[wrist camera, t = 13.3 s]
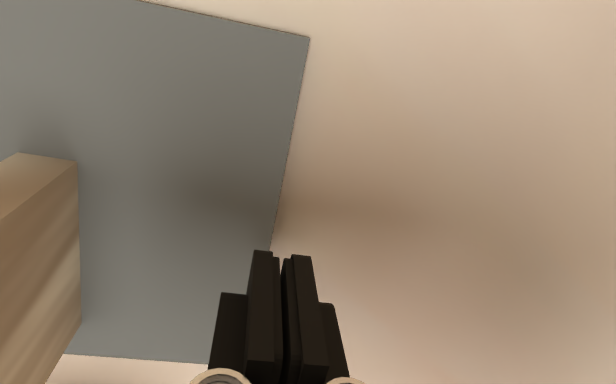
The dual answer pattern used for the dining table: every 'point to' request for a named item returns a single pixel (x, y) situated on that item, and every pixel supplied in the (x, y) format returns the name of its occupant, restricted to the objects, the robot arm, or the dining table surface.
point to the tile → (37, 265)
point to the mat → (154, 156)
